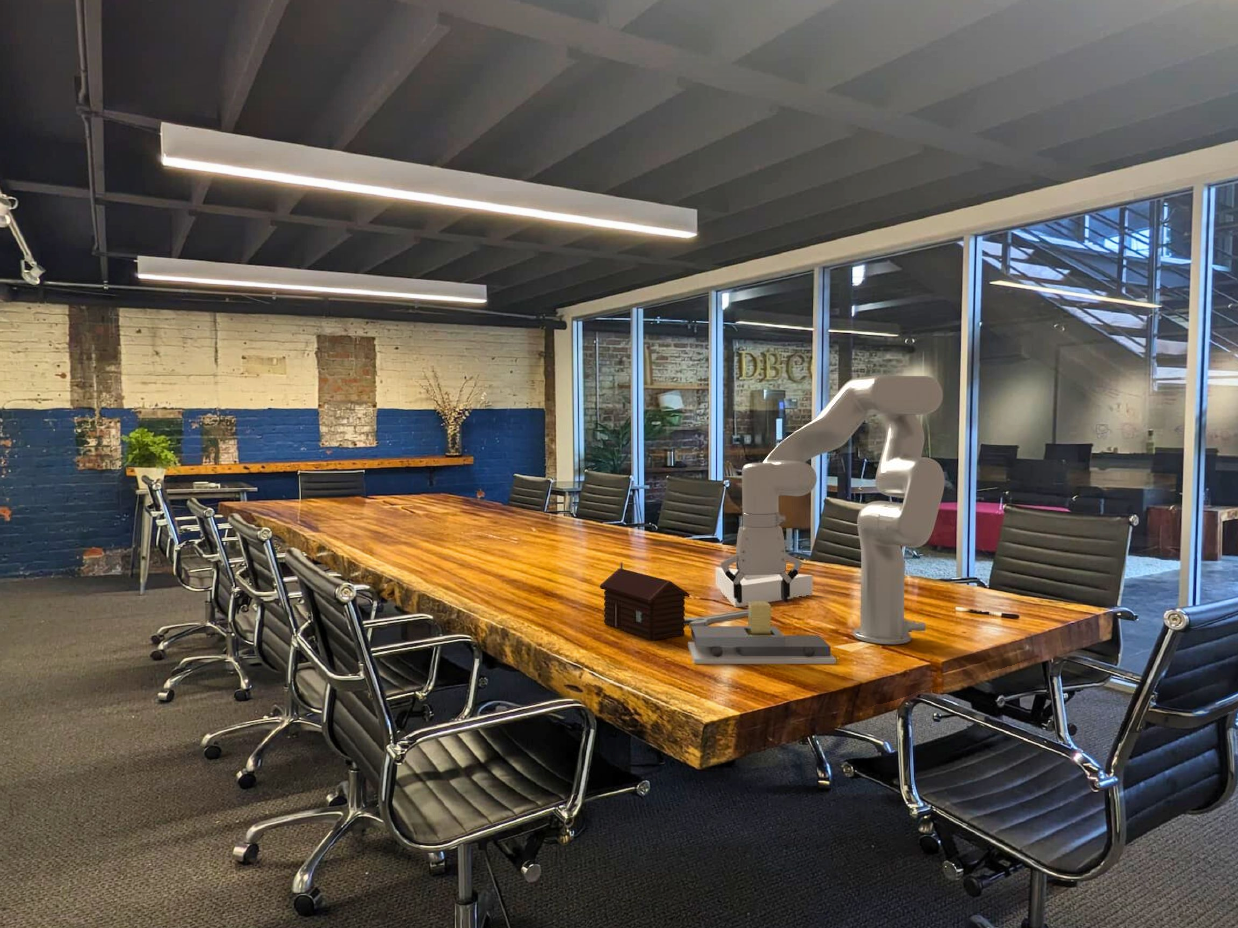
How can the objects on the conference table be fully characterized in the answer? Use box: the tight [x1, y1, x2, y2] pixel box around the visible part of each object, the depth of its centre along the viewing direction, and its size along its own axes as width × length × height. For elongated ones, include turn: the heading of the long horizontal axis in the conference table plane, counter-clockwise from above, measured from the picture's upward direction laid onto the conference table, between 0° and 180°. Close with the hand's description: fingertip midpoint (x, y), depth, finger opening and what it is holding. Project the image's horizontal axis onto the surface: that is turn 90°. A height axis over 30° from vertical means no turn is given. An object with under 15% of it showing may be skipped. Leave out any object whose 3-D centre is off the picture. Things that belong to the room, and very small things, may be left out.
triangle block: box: [715, 566, 814, 608], centre depth 227 cm, size 30×26×6 cm
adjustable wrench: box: [684, 609, 748, 629], centre depth 193 cm, size 25×6×2 cm, turn 120°
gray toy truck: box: [690, 625, 832, 657], centre depth 163 cm, size 28×10×4 cm, turn 90°
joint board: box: [687, 641, 837, 665], centre depth 163 cm, size 29×13×1 cm, turn 90°
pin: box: [747, 601, 772, 635], centre depth 163 cm, size 4×4×10 cm
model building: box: [599, 561, 691, 642], centre depth 184 cm, size 21×12×15 cm, turn 34°
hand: (761, 601), depth 163 cm, fingers open, 9 cm apart
